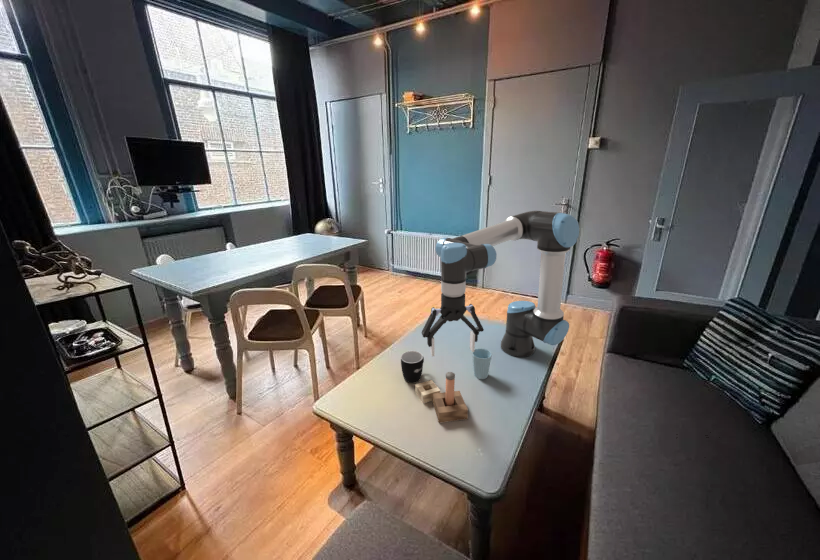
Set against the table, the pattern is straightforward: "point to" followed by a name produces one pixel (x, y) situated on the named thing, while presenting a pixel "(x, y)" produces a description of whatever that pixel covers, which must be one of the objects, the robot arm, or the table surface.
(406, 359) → the mug
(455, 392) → the brown wooden square frame
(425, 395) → the bead beech
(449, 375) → the dowel
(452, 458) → the table surface
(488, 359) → the cup
